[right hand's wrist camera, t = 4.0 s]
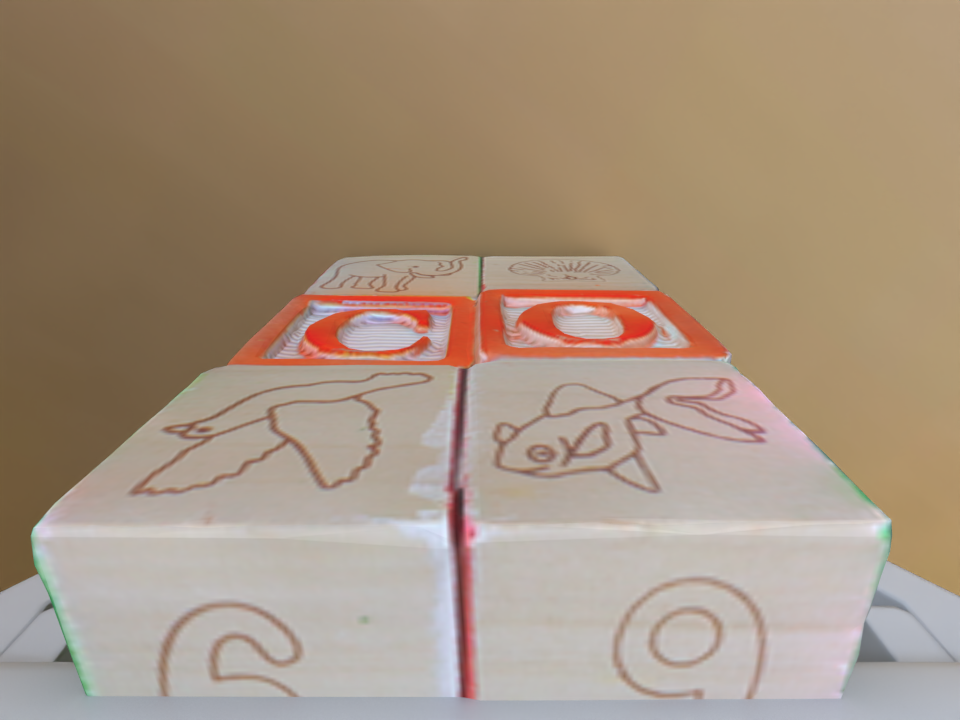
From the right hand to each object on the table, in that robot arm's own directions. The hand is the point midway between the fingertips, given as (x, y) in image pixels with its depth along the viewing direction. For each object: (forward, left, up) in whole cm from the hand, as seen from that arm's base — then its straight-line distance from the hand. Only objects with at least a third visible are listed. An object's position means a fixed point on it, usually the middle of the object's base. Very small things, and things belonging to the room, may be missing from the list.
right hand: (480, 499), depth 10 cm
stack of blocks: (+7, 0, -4) cm, 8 cm away
